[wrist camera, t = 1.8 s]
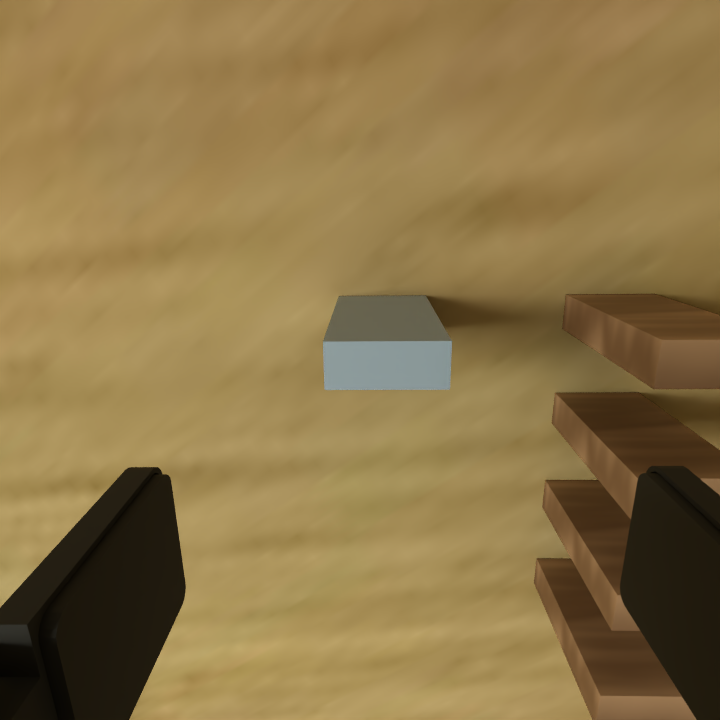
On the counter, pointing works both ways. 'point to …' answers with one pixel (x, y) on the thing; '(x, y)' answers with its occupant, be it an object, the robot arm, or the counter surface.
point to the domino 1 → (386, 345)
